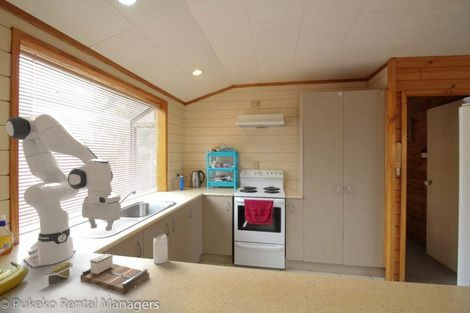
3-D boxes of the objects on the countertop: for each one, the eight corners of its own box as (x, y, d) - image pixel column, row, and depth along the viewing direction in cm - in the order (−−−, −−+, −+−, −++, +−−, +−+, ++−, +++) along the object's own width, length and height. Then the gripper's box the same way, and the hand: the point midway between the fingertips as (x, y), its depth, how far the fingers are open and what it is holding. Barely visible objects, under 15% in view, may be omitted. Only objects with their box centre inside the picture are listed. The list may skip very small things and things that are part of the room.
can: (163, 264, 101) (162, 239, 101) (150, 263, 103) (150, 238, 103) (170, 258, 108) (169, 234, 108) (158, 257, 109) (157, 233, 109)
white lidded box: (90, 272, 91) (90, 260, 91) (106, 264, 98) (106, 253, 98) (97, 274, 89) (96, 262, 89) (112, 266, 96) (112, 254, 96)
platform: (92, 272, 97) (91, 257, 97) (45, 297, 80) (45, 279, 80) (73, 268, 101) (72, 254, 101) (24, 291, 84) (24, 274, 84)
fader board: (80, 280, 90) (80, 271, 90) (107, 266, 101) (107, 258, 101) (124, 294, 80) (124, 284, 80) (149, 277, 91) (149, 268, 91)
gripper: (77, 197, 95) (78, 229, 95) (109, 199, 86) (110, 234, 86) (91, 194, 100) (92, 224, 100) (123, 196, 92) (124, 229, 92)
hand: (101, 229), depth 93 cm, fingers open, 8 cm apart
